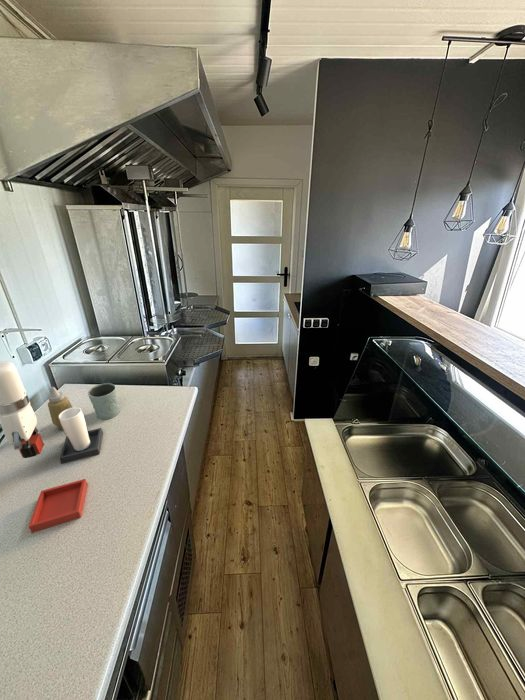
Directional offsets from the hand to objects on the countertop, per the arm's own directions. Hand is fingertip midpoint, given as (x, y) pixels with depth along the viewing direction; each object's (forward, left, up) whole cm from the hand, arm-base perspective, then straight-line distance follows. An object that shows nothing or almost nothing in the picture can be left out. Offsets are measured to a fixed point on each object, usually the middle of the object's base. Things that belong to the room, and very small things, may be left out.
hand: (33, 450), depth 90 cm
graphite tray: (+11, +7, -9) cm, 16 cm away
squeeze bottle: (+3, +23, -9) cm, 25 cm away
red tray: (+9, -17, -9) cm, 21 cm away
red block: (0, 0, 0) cm, 0 cm away
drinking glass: (+10, +7, -9) cm, 15 cm away
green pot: (+18, +25, -9) cm, 32 cm away
